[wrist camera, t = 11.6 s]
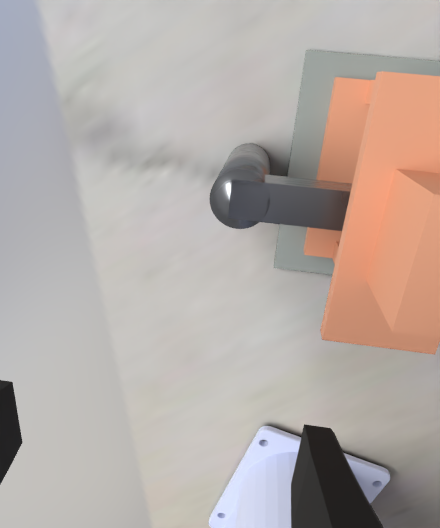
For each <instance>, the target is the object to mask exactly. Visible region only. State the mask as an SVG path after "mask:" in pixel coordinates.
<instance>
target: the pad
mask: <svg viewBox="0 0 440 528" xmlns="http://www.w3.org/2000/svg"><path fill="white" fill-rule="evenodd" d="M381 71H384V72H396V73H407V74H419V75H431V76H440V61H433V60H421V59H409V58H397V57H385V56H373V55H361V54H349V53H337V52H325V51H313V50H306V55H305V62H304V68H303V75H302V82H301V88H300V95H299V102H298V108H297V115H296V122H295V128H294V135H293V142H292V148H291V155H290V161H289V168H288V175H287V177H295V178H304V179H314V180H316V178H317V172H318V167H319V161H320V156H321V150H322V145H323V139H324V134H325V128H326V123H327V117H328V111H329V106H330V100H331V95H332V89H333V84H334V78H335V77H341V78H352V79H364V80H375V78H376V74H377V72H381ZM307 228H308V227H301V226H292V225H283V224H280V228H279V235H278V241H277V248H276V255H275V261H274V268H279V269H287V270H295V271H304V272H312V273H320V274H329V275H333V271H334V266H335V264H334V262H333V259H332V258H327V257H318V256H309V255H304V244H305V239H306V233H307Z"/></svg>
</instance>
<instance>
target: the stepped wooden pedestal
mask: <svg viewBox="0 0 440 528" xmlns="http://www.w3.org/2000/svg"><path fill="white" fill-rule="evenodd" d="M316 180H323V181H333V182H342V183H352V188H351V193H350V197H349V202H348V206H347V211H346V216H345V220H344V225H343V229H342V231H336V230H327V229H318V228H309V227H308V228H307V233H306V239H305V244H304V255H309V256H318V257H327V258H332V259H333V262H334V264H335V266H334V271H333V275H332V280H331V284H330V289H329V293H328V298H327V303H326V307H325V312H324V316H323V321H322V325H321V330H320V331H321V335H322V340H329V341H336V342H344V343H352V344H359V345H367V346H374V347H382V348H390V349H397V350H405V351H413V352H420V353H428V354H435V353H436V350H437V347H438V344H439V342H440V76H431V75H419V74H407V73H396V72H384V71H381V72H377V74H376V78H375V80H364V79H352V78H341V77H335V78H334V84H333V89H332V95H331V100H330V106H329V111H328V117H327V123H326V128H325V134H324V139H323V145H322V150H321V156H320V161H319V167H318V172H317V178H316Z"/></svg>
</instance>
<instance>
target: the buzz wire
mask: <svg viewBox="0 0 440 528" xmlns="http://www.w3.org/2000/svg"><path fill="white" fill-rule="evenodd" d="M351 188H352V183H342V182H333V181H323V180H314V179H304V178H295V177H285V176H275V175H270V161H269V157H268V155H267V153H266V152H265V151H264V149H262V148H261V147H260V146H258V145H255V144H243V145H240V146H238V147H237V148H235V149H234V150H233V152H232V153H231V154H230V156H229V158H228V160H227V162H226V163H225V165H224V167H223V169H222V170H221V172H220V174H219V176H218V178H217V179H216V181H215V183H214V185H213V187H212V189H211V193H210V205H211V209H212V211H213V213H214V215H215V216H216V218H217V219H218V220H219V221H220V222H222V223H223V224H225V225H226V226H229V227H232V228H236V229H244V228H249V227H252V226H254V225H256V224H257V223H259V222H265V223H274V224H283V225H292V226H301V227H309V228H318V229H327V230H336V231H342V229H343V225H344V220H345V216H346V211H347V206H348V202H349V197H350V193H351Z"/></svg>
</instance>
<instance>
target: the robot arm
mask: <svg viewBox="0 0 440 528" xmlns="http://www.w3.org/2000/svg"><path fill="white" fill-rule="evenodd" d="M262 440H266V441H262ZM21 444H22V438H21V432H20V426H19V420H18V414H17V408H16V401H15V395H14V389H13V383H12V382H9V381H1V380H0V484H1V482H2V480H3V478H4V477H5V475H6V473H7V471H8V469H9V467H10V465H11V464H12V462H13V460H14V458H15V456H16V454H17V452H18V450H19V448H20V446H21ZM389 480H390V474H389V471H388V470H387V469H386V468H384V467H381V466H378V465H375V464H373V463H370V462H367V461H364V460H362V459H359V458H356V457H353V456H351V455H348V454H345V453H343V451H342V449H341V447H340V445H339V442H338V440H337V438H336V436H335V434H334V432H333V431H332V430H331V428H325V427H318V426H311V425H304V428H303V433H302V437H298V436H296V435H293V434H290V433H287V432H285V431H282V430H279V429H276V428H274V427H271V426H263V427H261V428H260V429H259V430H258V432H257V434H256V436H255V437H254V439H253V441H252V443H251V444H250V446H249V448H248V450H247V451H246V453H245V455H244V457H243V459H242V460H241V462H240V464H239V466H238V467H237V469H236V471H235V473H234V475H233V476H232V478H231V480H230V482H229V483H228V485H227V487H226V489H225V491H224V492H223V494H222V496H221V498H220V499H219V501H218V503H217V505H216V507H215V508H214V510H213V512H212V514H211V515H210V518H209V525H210V526H211V527H212V528H383V526H382V524H381V523H380V521H379V519H378V517H377V515H376V514H375V512H374V510H373V508H372V507H371V505H370V504H371V502H372V501H373V500H374V499H375V498H376V496H377V495H378V494H379V493H380V491H381V490H382V489H383V488H384V487H385V485H386V484H387V483H388V482H389Z"/></svg>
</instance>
